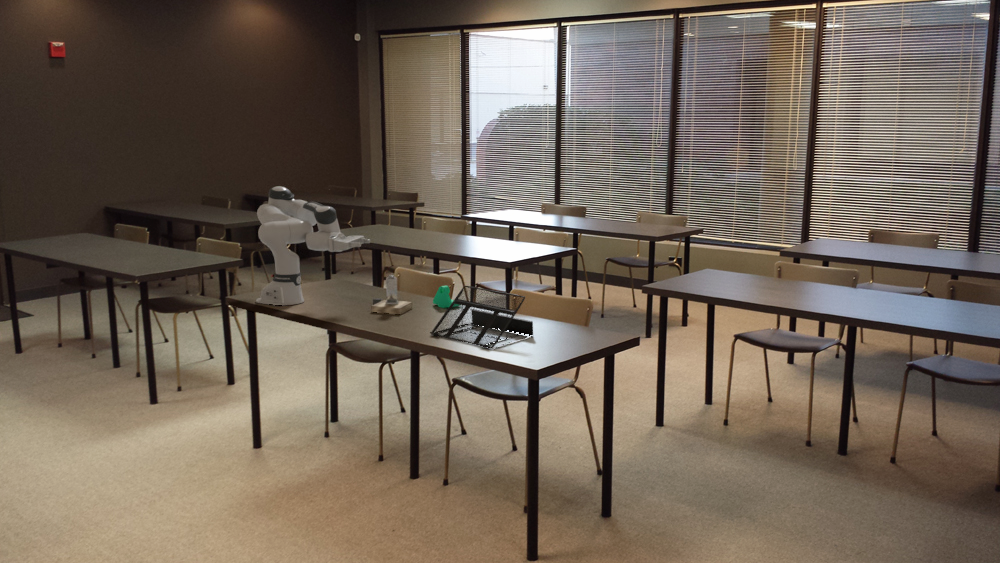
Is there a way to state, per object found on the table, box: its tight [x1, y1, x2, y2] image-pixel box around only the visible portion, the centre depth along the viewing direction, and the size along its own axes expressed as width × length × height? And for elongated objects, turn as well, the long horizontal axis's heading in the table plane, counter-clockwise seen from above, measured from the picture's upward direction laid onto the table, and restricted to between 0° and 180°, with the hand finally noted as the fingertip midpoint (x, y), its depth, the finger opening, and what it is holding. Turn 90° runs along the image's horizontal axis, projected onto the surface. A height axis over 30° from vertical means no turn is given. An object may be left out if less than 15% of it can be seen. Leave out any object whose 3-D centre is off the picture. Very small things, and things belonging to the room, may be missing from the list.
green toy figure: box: [432, 285, 462, 309], centre depth 386 cm, size 12×8×10 cm, turn 46°
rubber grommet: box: [372, 297, 382, 305], centre depth 387 cm, size 4×4×3 cm
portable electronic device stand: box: [429, 285, 534, 349], centre depth 332 cm, size 33×28×18 cm
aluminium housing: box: [385, 274, 400, 305], centre depth 375 cm, size 6×6×13 cm
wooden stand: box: [371, 299, 413, 315], centre depth 377 cm, size 14×14×3 cm
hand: (365, 243), depth 377 cm, fingers open, 8 cm apart
